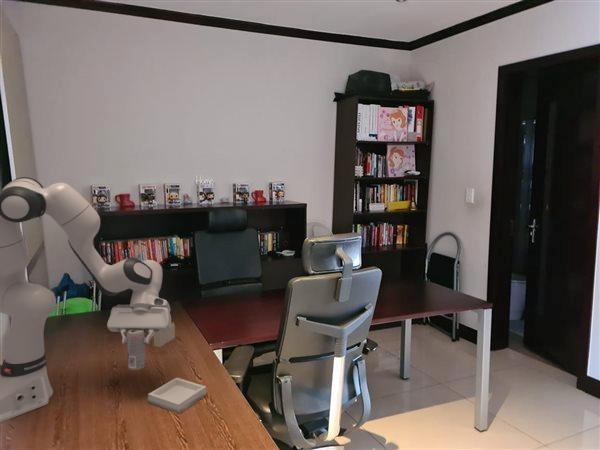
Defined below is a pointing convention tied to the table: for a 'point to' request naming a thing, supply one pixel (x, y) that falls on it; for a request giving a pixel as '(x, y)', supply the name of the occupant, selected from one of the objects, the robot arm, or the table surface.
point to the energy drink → (135, 349)
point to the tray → (177, 395)
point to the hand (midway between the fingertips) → (135, 343)
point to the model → (164, 336)
